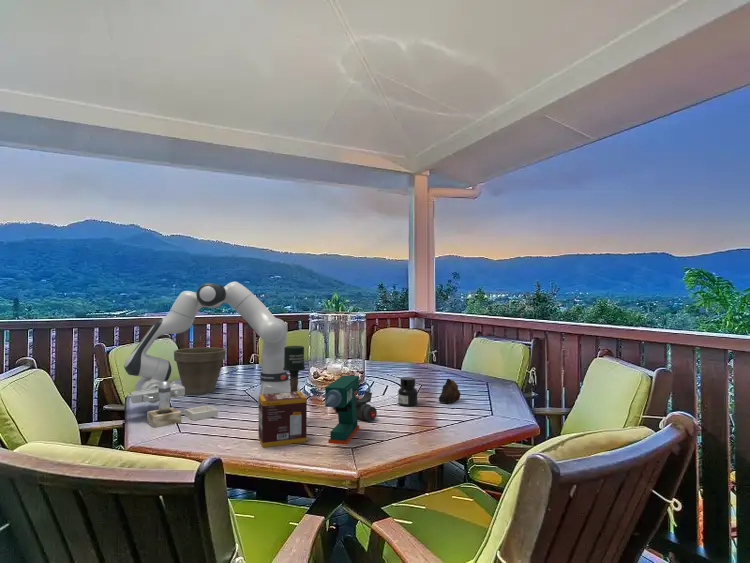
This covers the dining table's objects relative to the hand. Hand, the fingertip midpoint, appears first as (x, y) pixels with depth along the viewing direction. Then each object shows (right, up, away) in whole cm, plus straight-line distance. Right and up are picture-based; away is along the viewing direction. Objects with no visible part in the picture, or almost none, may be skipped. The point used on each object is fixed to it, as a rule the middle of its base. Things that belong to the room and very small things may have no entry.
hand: (163, 397), depth 177 cm
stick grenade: (+52, -10, -1) cm, 53 cm away
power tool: (+73, -10, -23) cm, 77 cm away
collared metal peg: (+1, -9, -1) cm, 10 cm away
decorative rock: (+120, -11, +32) cm, 125 cm away
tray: (+12, -10, +8) cm, 17 cm away
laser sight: (+76, -10, +8) cm, 77 cm away
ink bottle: (+100, -11, +27) cm, 104 cm away
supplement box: (+52, -10, -22) cm, 57 cm away
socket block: (+1, -9, -1) cm, 10 cm away
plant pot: (-6, -11, +51) cm, 53 cm away
